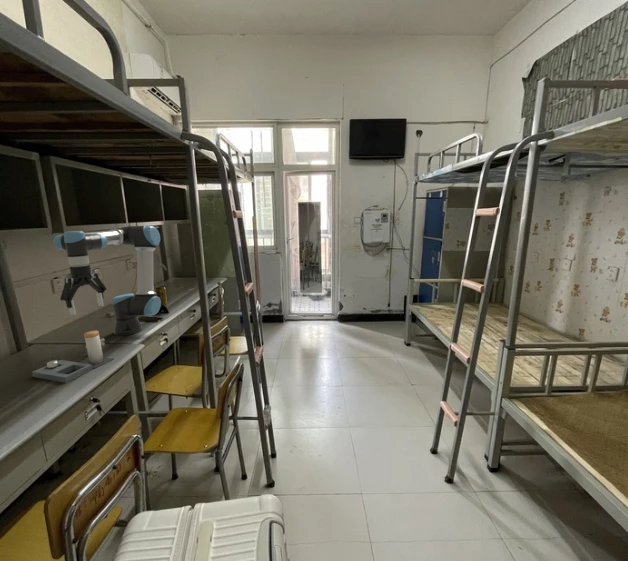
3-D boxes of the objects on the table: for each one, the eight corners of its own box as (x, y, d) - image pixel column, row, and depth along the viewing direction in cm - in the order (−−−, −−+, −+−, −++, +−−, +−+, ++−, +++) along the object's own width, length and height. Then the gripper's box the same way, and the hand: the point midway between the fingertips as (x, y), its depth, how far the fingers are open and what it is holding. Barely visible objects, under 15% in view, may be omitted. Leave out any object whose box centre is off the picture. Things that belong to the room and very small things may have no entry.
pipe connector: (96, 357, 157) (93, 338, 155) (80, 355, 159) (76, 337, 157) (112, 349, 167) (109, 331, 165) (97, 347, 169) (94, 330, 167)
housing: (61, 364, 150) (60, 359, 150) (92, 369, 145) (91, 364, 144) (33, 376, 139) (32, 371, 139) (66, 382, 133) (65, 377, 133)
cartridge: (97, 358, 155) (92, 330, 152) (106, 359, 154) (101, 331, 150) (86, 363, 150) (81, 334, 147) (95, 365, 148) (90, 335, 145)
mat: (98, 357, 158) (98, 356, 158) (113, 359, 155) (113, 358, 155) (78, 366, 148) (78, 365, 148) (94, 368, 146) (94, 367, 146)
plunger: (55, 366, 146) (53, 359, 145) (61, 367, 145) (59, 360, 144) (45, 370, 142) (44, 363, 141) (52, 371, 141) (50, 364, 140)
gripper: (98, 261, 155) (105, 302, 159) (43, 269, 131) (53, 317, 136) (110, 261, 153) (117, 303, 157) (56, 270, 129) (66, 319, 134)
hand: (87, 310), depth 147 cm, fingers open, 13 cm apart
